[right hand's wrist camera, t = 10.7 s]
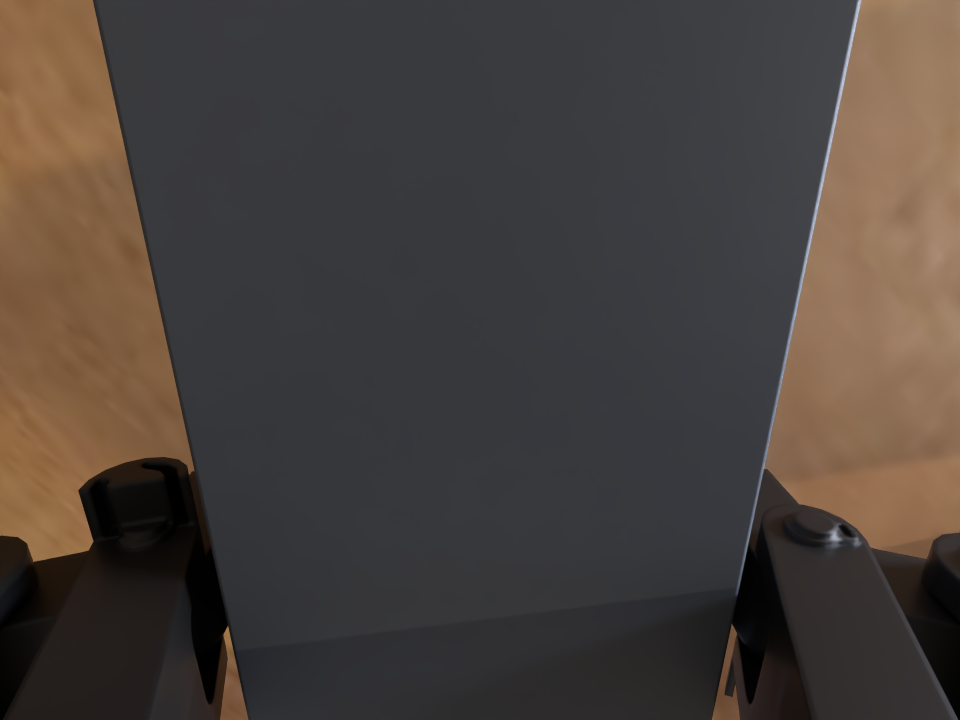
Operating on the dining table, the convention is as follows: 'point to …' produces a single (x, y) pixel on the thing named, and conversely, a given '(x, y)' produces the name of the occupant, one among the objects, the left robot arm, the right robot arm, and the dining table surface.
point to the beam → (478, 330)
